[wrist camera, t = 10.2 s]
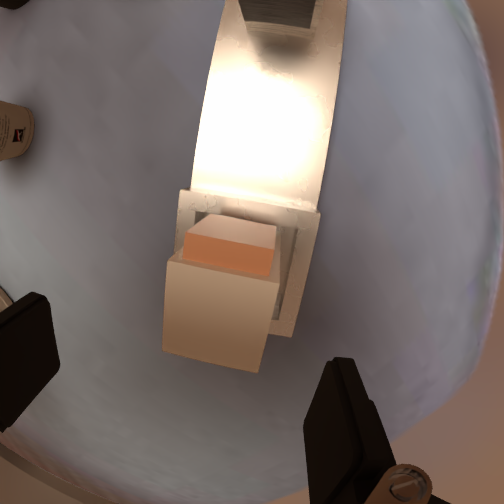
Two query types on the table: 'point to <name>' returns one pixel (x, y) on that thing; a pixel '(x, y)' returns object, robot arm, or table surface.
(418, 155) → the table surface
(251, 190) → the rail
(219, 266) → the beige orange block
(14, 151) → the coffee cup
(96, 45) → the table surface
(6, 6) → the travel mug
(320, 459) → the robot arm
